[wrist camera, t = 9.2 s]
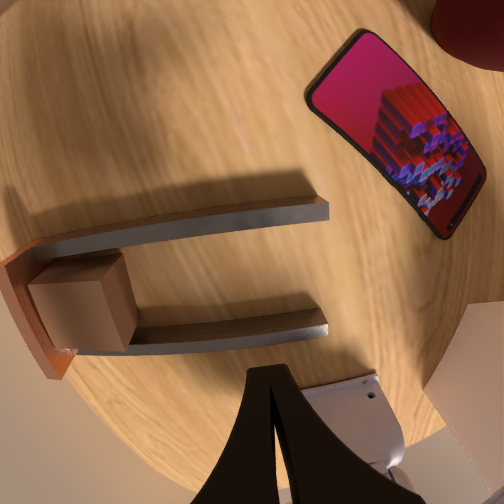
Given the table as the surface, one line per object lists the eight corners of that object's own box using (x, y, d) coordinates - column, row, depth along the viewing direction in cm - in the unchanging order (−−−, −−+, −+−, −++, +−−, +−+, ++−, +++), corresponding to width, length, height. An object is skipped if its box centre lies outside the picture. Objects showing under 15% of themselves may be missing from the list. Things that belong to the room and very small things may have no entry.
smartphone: (367, 24, 12) (489, 173, 16) (361, 28, 13) (483, 171, 17) (300, 102, 14) (445, 246, 18) (297, 104, 15) (439, 242, 19)
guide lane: (318, 195, 17) (349, 216, 12) (320, 319, 20) (341, 365, 15) (32, 240, 16) (-8, 268, 12) (71, 339, 20) (47, 378, 15)
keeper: (123, 252, 17) (100, 280, 14) (141, 316, 19) (125, 351, 15) (56, 260, 17) (27, 284, 13) (76, 317, 19) (55, 347, 15)
